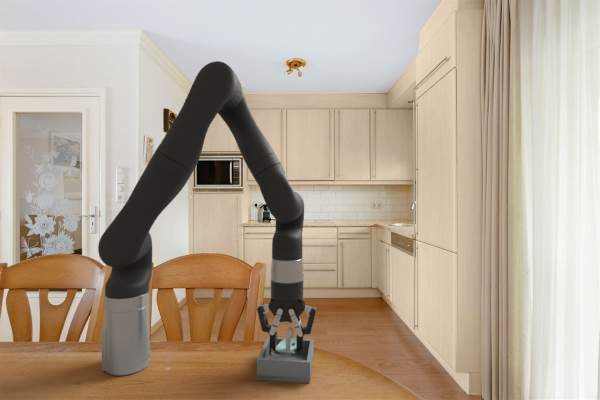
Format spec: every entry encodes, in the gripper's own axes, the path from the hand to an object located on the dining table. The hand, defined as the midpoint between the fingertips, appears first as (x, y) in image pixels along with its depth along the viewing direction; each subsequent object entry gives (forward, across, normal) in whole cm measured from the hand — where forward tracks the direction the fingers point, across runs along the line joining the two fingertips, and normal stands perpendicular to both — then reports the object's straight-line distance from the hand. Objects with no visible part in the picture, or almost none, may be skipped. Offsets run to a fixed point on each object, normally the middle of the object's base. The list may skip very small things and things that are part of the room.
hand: (286, 349), depth 83 cm
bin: (+4, 0, 0) cm, 4 cm away
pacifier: (+1, -1, 0) cm, 1 cm away
